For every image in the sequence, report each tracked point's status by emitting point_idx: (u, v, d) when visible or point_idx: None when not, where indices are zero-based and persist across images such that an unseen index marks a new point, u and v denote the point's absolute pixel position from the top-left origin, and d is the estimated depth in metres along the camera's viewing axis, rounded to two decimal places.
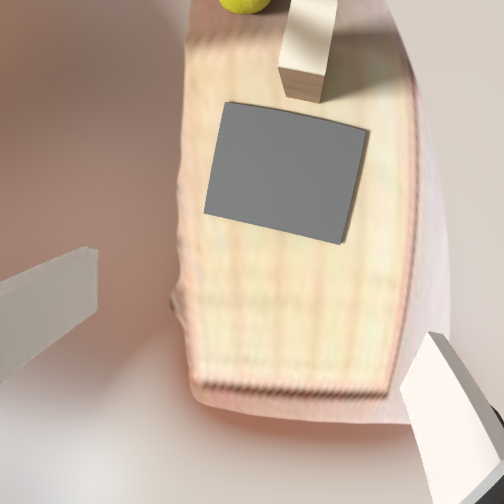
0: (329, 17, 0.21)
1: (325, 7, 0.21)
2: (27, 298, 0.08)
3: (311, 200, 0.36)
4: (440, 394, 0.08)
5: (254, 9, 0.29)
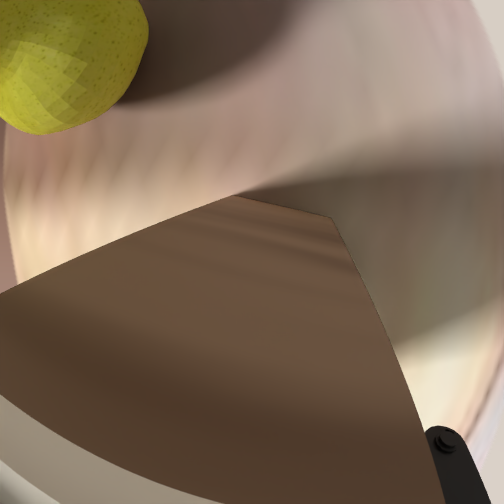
0: None
1: None
2: None
3: None
4: None
5: (75, 121, 0.09)
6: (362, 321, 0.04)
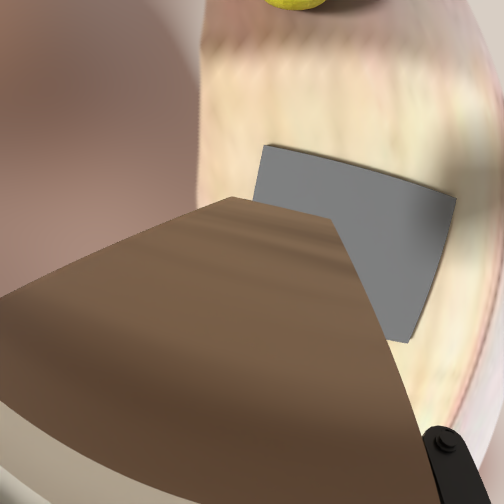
0: None
1: None
2: None
3: (380, 292, 0.26)
4: None
5: (311, 3, 0.18)
6: (361, 325, 0.04)
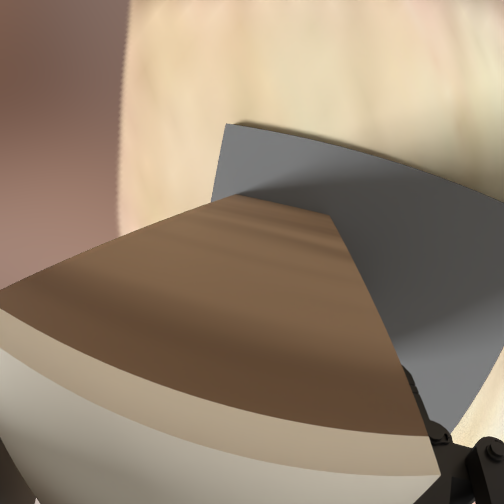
0: None
1: None
2: None
3: (424, 377, 0.14)
4: None
5: None
6: (354, 296, 0.04)
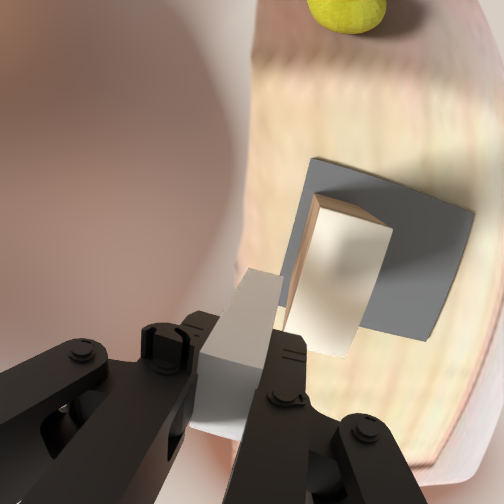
0: (372, 265, 0.16)
1: (370, 244, 0.16)
2: None
3: (405, 295, 0.28)
4: None
5: (361, 30, 0.20)
6: (375, 219, 0.18)
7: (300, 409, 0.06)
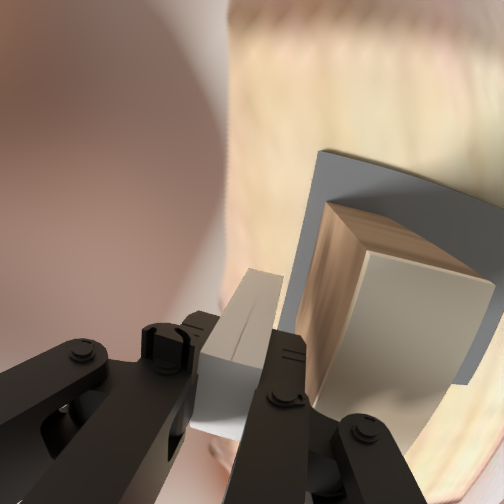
0: (455, 352, 0.07)
1: (457, 317, 0.07)
2: None
3: None
4: None
5: None
6: (445, 253, 0.10)
7: (299, 409, 0.06)
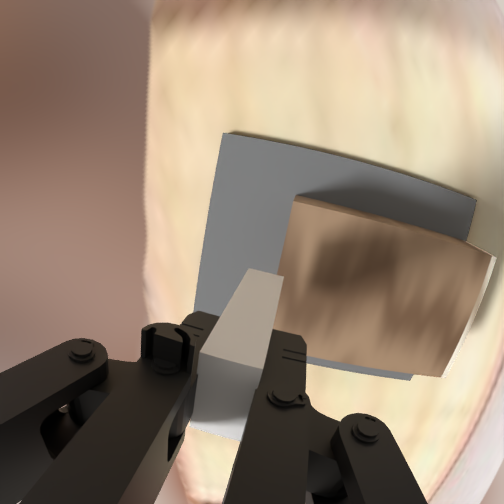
0: None
1: None
2: None
3: None
4: None
5: None
6: (431, 230, 0.18)
7: (300, 409, 0.06)
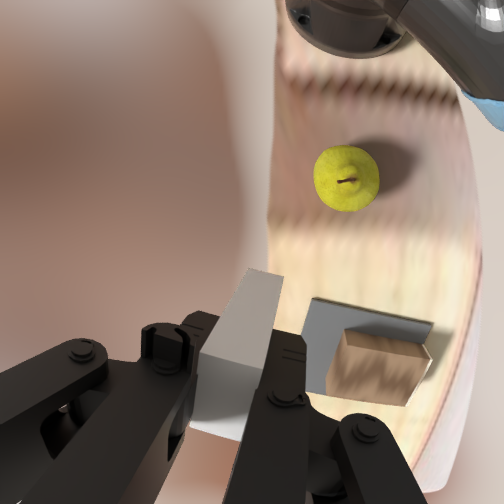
0: None
1: None
2: None
3: None
4: None
5: None
6: (405, 342, 0.37)
7: (300, 409, 0.06)
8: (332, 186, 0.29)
